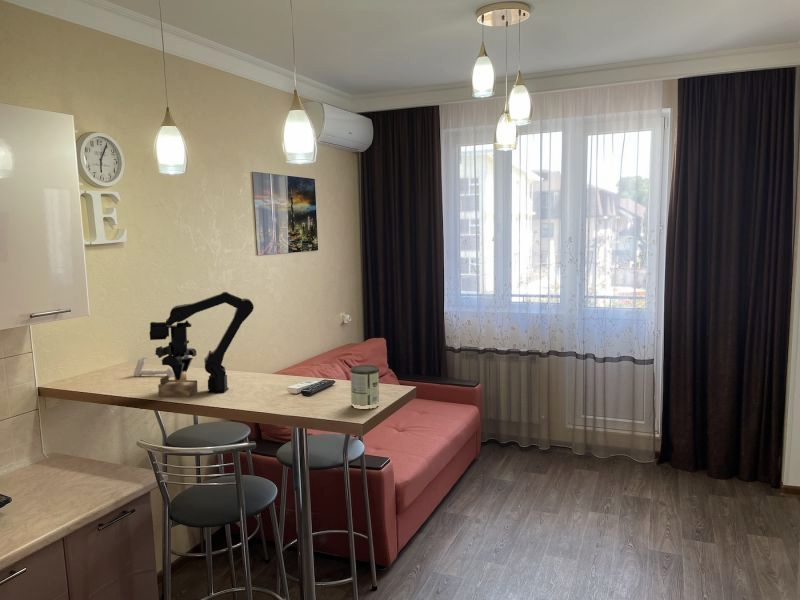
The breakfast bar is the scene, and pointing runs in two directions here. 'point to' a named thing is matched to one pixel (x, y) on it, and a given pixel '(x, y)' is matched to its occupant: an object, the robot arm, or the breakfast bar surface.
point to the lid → (166, 382)
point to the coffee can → (364, 385)
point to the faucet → (141, 371)
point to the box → (177, 389)
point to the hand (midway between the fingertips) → (180, 378)
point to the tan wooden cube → (182, 378)
